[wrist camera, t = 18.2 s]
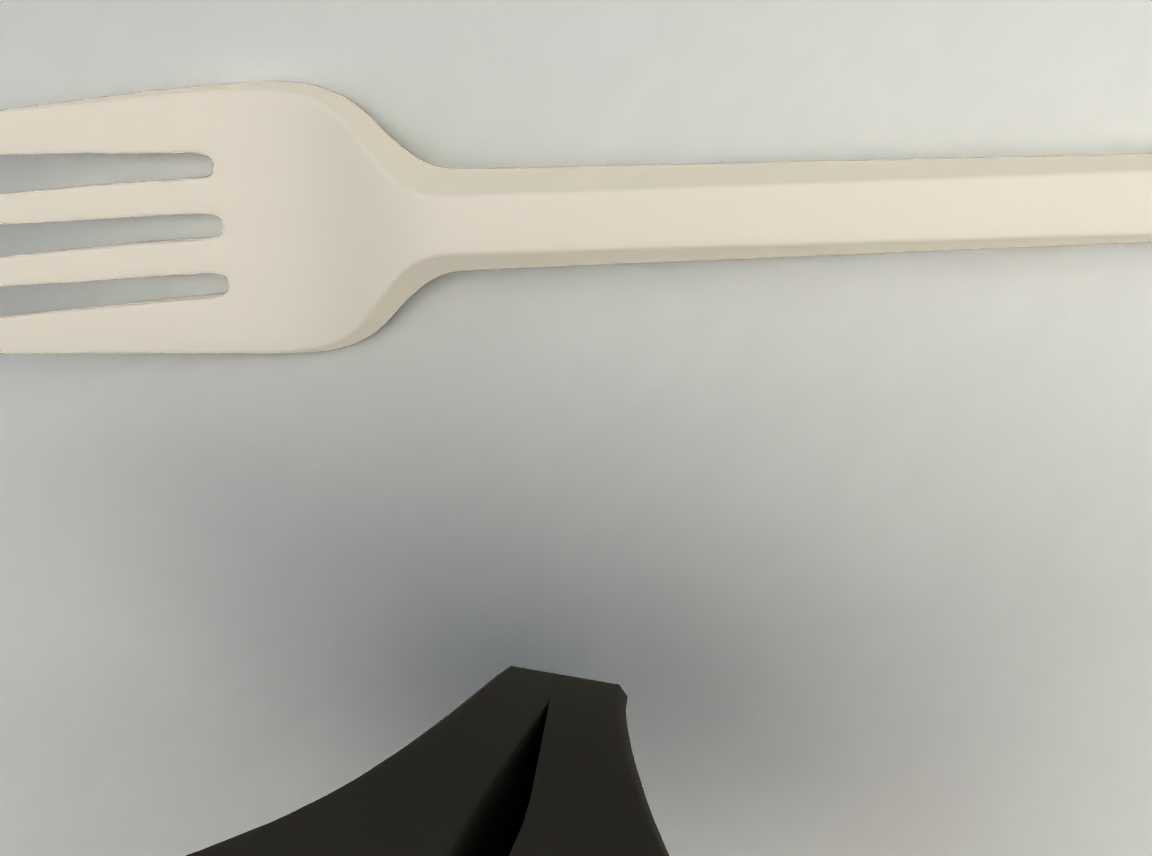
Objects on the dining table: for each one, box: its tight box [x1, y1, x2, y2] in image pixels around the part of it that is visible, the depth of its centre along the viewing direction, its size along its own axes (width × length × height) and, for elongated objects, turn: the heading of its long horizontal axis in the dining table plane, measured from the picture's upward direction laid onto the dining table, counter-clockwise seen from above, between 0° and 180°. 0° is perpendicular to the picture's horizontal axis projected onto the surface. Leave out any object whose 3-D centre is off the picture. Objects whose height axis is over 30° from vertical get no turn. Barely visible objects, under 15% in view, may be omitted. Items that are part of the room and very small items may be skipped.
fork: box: [0, 81, 1152, 354], centre depth 12 cm, size 3×20×2 cm, turn 92°
